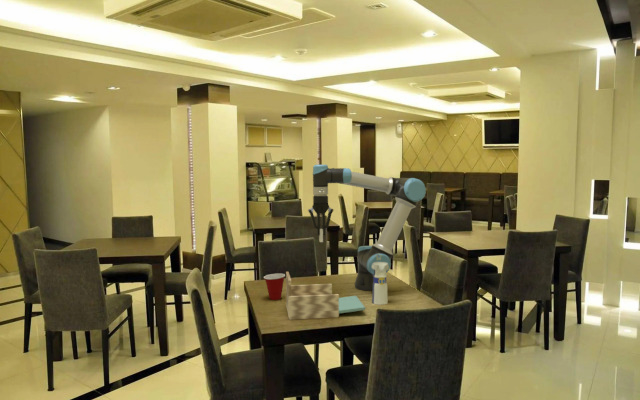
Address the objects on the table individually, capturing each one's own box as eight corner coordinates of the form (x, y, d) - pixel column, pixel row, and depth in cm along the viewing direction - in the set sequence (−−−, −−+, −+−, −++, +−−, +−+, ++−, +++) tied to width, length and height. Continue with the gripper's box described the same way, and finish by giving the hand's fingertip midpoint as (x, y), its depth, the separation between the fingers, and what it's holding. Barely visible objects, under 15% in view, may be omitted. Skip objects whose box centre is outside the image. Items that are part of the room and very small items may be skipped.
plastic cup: (265, 295, 243) (265, 272, 242) (286, 295, 243) (286, 272, 242) (262, 301, 232) (262, 277, 232) (284, 301, 232) (283, 277, 231)
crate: (331, 304, 227) (331, 269, 226) (338, 317, 208) (338, 279, 206) (286, 306, 224) (285, 271, 223) (289, 319, 205) (288, 281, 204)
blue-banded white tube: (391, 304, 226) (391, 253, 224) (374, 305, 225) (374, 253, 223) (386, 299, 234) (386, 250, 233) (369, 300, 233) (369, 250, 231)
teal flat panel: (332, 302, 227) (356, 299, 228) (339, 315, 208) (365, 311, 210) (331, 298, 227) (356, 295, 228) (338, 310, 208) (365, 307, 209)
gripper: (308, 196, 231) (309, 243, 233) (334, 195, 233) (335, 242, 235) (306, 195, 239) (307, 241, 240) (331, 194, 241) (332, 240, 242)
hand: (321, 241), depth 238 cm, fingers closed
